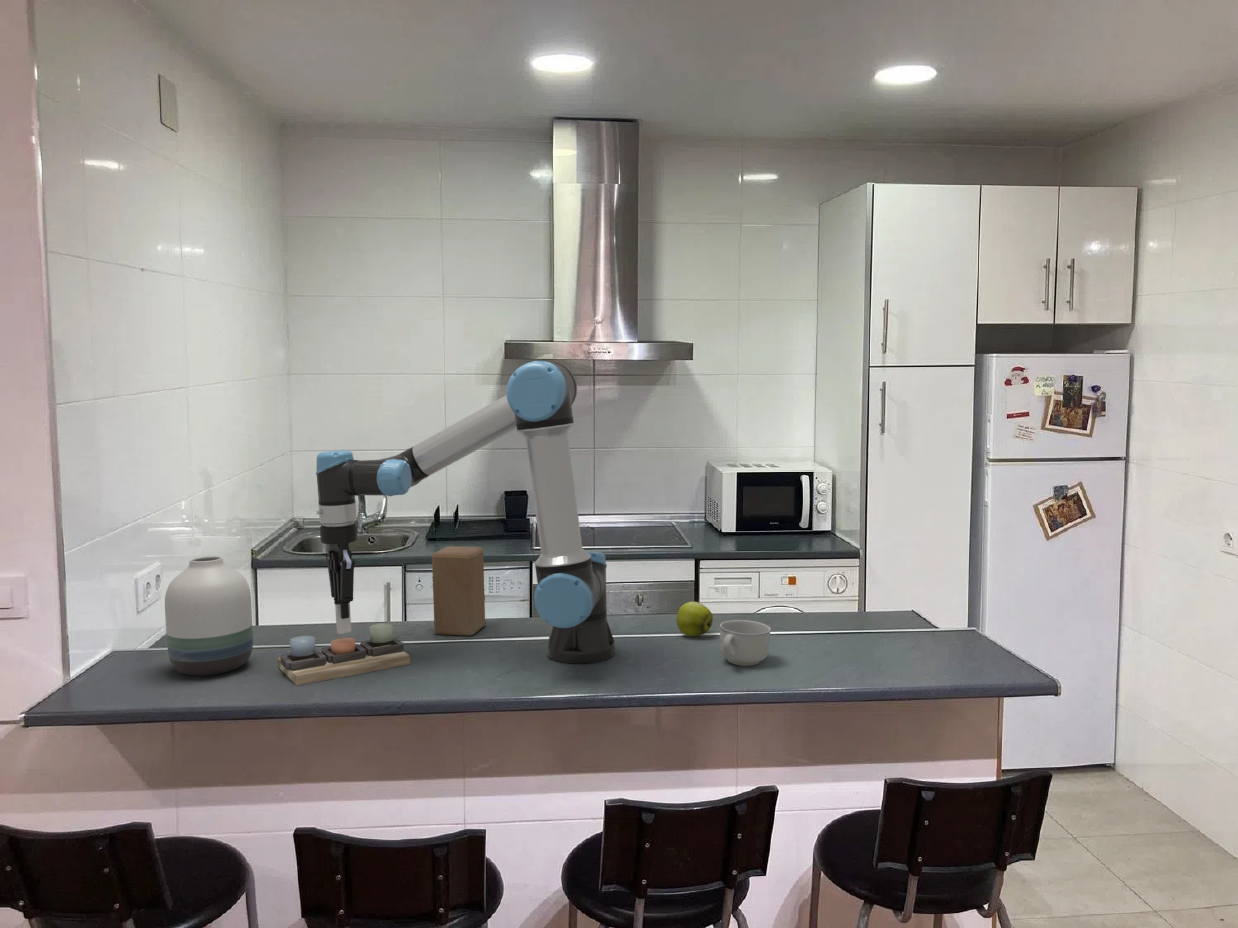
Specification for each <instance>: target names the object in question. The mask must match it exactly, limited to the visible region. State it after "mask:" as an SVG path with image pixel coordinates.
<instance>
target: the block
mask: <svg viewBox="0 0 1238 928" xmlns="http://www.w3.org/2000/svg"><path fill="white" fill-rule="evenodd" d="M431 563H432V564H431V568H432V569H431V570H432V593H433V594H432V596H433V597H432V598H433V623H434V624H433V627H434V628H433V631H434V633H435V635H436V634H437V635H445V636H447V635H448V636H466V637H468V636H473V635H475V634H476V633H477V632H478V631H480V630H481V629H482V628H483V627H485V625H486V606H485V605H486V602H485V600H486V599H485V570H484V569H485V568H484V566H485V564H484V549H483V548H482V547H480V546H456V545H455V546H452V545H451V546H450V545H449V546H445V547H443V548H442V549H441V548H440V550H438V551H435V552H434V553H432V555H431Z"/></svg>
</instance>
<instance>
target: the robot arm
mask: <svg viewBox="0 0 1238 928" xmlns="http://www.w3.org/2000/svg"><path fill="white" fill-rule="evenodd" d="M577 394H578V385H577V380H576V378H575V376H574V374H573V372H572V371H571V370H570V369H569V368H568V367H566V366H565V365H564V364H561V363H559V362H556V361H546V360H534V361H528V362H527V363H524V364H523V365H520V366H519V367H518V368H517V369H516V370H514V372H513V373H511V375H510V377H509V380H508V383H507V385H506V393H505V395H503V396H502V397H500V398H498V399H497V400H495V401H493V402H491V403H490V404H488V405H485V406H484V407H482V408H481V409H478V410H476V411H474V412H473V413H471V414H469V415H467V416H466V417H464V418H462V419H460V420H459V421H457V422H455V423H452V425H449V426H448V427H446V428H444V429H441V430H440V431H439V432H437V433H435V434H434V435H432V436H430V437H427V438H426V439H424V440H423V441H420V442H419V443H417V444H415V445H413V446H412V447H409V448H407V449H405V450H404V451H402V452H400V453H398V454H396V455H393V456H389V457H385V458H380V459H365V460H363V459H362V460H358V459H354V454H353V452H352V451H351V450H327V451H321V452H319V453H318V454H317V456H316V472H315V475H316V481H317V482H316V483H317V485H316V486H317V496H318V509H317V510H316V511H315V512H316V514H317V515H319V523H320V524H322V525H320V527H319V536H320V538H319V540H320V542H321V544H325V545H329V546H328V547H329V548H328V549H329V550H328V551H327V552H326V553H325V555H324V556H325V559H326V563H327V571H328V579H329V586H330V596H331V598H333V603H334V609H335V624H336V625H335V626H336V633H337V634H338V635H342V634H347V633H348V634H349V633H352V619H351V602H353V601H354V584H355V583H354V581H355V579H354V578H355V577H354V576H355V564H356V560H355V558H352V557H353V556H352V551H351V550H350V546H349V545H350V543H354V542H355V541H357V540H358V531H357V526H358V525H357V524H356V523H355V521H357V507H356V506H357V505H356V497H357V496H380V497H381V496H384V497H385V496H387V497H393V496H403V495H407V493H408V492H409V489H410V488H412V487H414V486H417V485H418V484H419V483H421V482H422V481H423V480H425V479H427V478H428V477H431V476H432V475H434V474H436V473H437V472H439V471H441V470H443V469H445V468H446V467H448V466H450V465H453V464H454V463H456V462H458V461H460V460H461V459H464V458H465V457H467V456H470V455H471V454H473V453H475V452H476V451H478V450H480V449H481V448H484V447H486V446H489V444H492V443H493V442H495V441H497V440H498V439H501V438H502V437H505V436H507V435H508V434H509V433H511V432H514V431H517V433H519V435H521V436H522V437H523V438H524V439H525V445H526V451H527V457H528V465H529V473H530V474H529V475H530V480H531V489H532V497H533V505H534V511H535V518H536V525H537V526H536V527H537V532H538V533H537V534H538V541H539V547H540V548H539V549H540V555H539V556H538V558H537V559H536V561H534V565H535V566H534V568H535V575H536V583H537V585H536V587H535V592H534V595H533V596H534V597H533V599H534V607H535V609H536V612H537V614H538V616H539V617H540V618H541V620H543V621H544V622H546V624H549V625H551V629H550V633H549V637H548V640H547V643H546V655H547V657H548V658H549V659H551V660H553V661H555V662H561V663H568V664H589V663H597V662H602V661H606V660H608V659H610V658H612V657H614V655H615V654H616V643H615V639H614V636H613V633H612V631H611V627H610V624H609V621H608V617H607V613H608V612H607V567H608V566H607V563H606V561H607V560H606V555H605V553H603V552H601V551H593V550H585V549H584V548H583V542H582V536H581V535H582V534H581V527H580V519H579V513H578V511H579V510H578V504H577V496H576V490H575V489H576V487H575V482H574V473H573V467H572V465H573V464H572V459H571V449H570V443H569V435H568V433H569V431H570V430H571V429H572V428H573V426H574V425H575V424H574V423H575V422H574V415H573V408H572V406H573V405H574V402H576V398H577Z"/></svg>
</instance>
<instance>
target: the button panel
mask: <svg viewBox="0 0 1238 928" xmlns="http://www.w3.org/2000/svg"><path fill="white" fill-rule="evenodd" d="M355 648H356V652H350V653H344V654H338V655H334V654H332V653H331V646H327V647H322V648H321V650H316V652H315V653H314V654H312V655H308V656H292V655H291V652H290V653H285V654H282V655H281V656H279V657H278V658H277V667H278V669H279V670H281V671H282V673H283V674H285V676H286V677H287V678H288V679H290V681H291V682H293V683H294V685H295V686H302V685H306V684H307V685H308V684H311V683H318V682H323V681H327V680H328V681H329V680H333V679H339V678H343V677H344V678H345V677H349V676H355V675H359V674H365V673H370V672H376V671H381V670H387V669H392V668H393V669H394V668H397V667H402V666H408V665H411V657H410V654H408V653H407V652H405V643H404V642H403V641H401V640H400V639H399V638H397V637H393V640H392V641H389V642H384V643H373V642H371V641H370V639H368V640H363V641H360V643H355Z"/></svg>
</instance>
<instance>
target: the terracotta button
mask: <svg viewBox="0 0 1238 928" xmlns="http://www.w3.org/2000/svg"><path fill="white" fill-rule="evenodd" d="M355 644H356V639H355V638H353V637H340V638H339V637H338V638H334V639H333V640H331V641H330V647H331V653H332V654H334V655H338V654H344V653H350V652H356V648H355Z"/></svg>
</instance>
